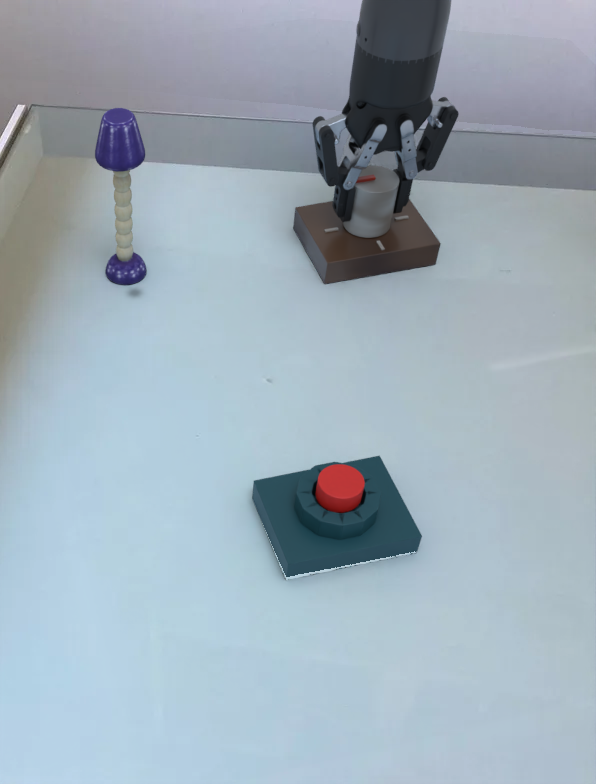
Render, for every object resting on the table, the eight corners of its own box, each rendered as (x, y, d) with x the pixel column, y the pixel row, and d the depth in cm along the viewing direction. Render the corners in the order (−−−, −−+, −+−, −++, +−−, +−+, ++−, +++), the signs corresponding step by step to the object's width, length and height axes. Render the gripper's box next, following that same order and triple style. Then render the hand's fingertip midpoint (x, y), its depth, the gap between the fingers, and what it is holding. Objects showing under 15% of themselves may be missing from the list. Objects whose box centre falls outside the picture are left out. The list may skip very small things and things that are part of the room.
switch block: (375, 473, 82) (383, 439, 79) (416, 553, 77) (427, 521, 74) (251, 498, 81) (254, 465, 77) (285, 581, 76) (290, 549, 72)
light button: (351, 475, 77) (355, 460, 76) (368, 508, 75) (371, 493, 74) (309, 483, 77) (311, 468, 75) (324, 517, 75) (327, 502, 73)
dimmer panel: (398, 210, 104) (403, 187, 102) (435, 264, 98) (441, 241, 96) (292, 228, 103) (295, 205, 100) (324, 284, 97) (327, 261, 95)
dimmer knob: (380, 207, 100) (389, 158, 96) (397, 233, 97) (407, 185, 93) (336, 214, 99) (343, 166, 95) (352, 241, 97) (360, 192, 92)
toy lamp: (157, 277, 98) (154, 117, 85) (119, 294, 97) (110, 134, 83) (131, 254, 101) (124, 94, 87) (94, 271, 99) (81, 111, 86)
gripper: (337, 68, 80) (313, 246, 94) (496, 44, 82) (450, 222, 96) (307, 27, 85) (289, 204, 99) (459, 5, 86) (420, 182, 100)
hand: (369, 212), depth 97 cm, fingers closed on dimmer knob, 5 cm apart
